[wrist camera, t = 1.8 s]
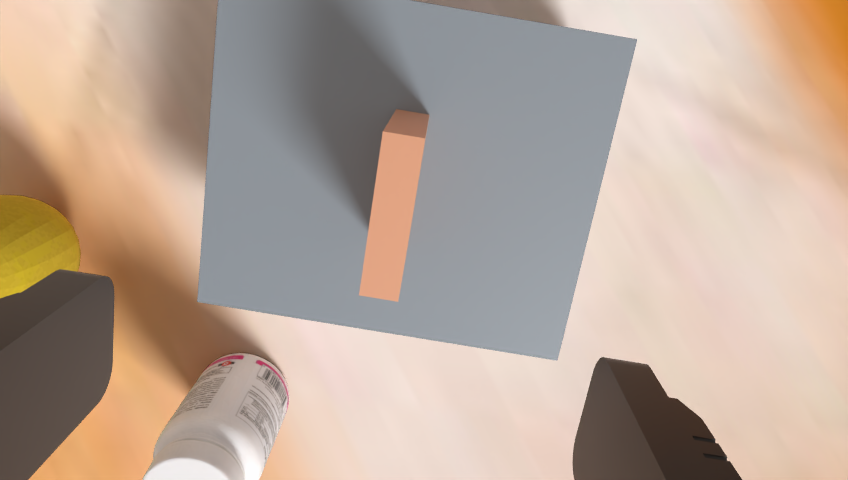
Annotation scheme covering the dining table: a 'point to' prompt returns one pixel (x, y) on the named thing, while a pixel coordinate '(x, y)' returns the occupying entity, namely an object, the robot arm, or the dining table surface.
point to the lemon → (33, 243)
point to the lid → (406, 167)
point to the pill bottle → (224, 423)
